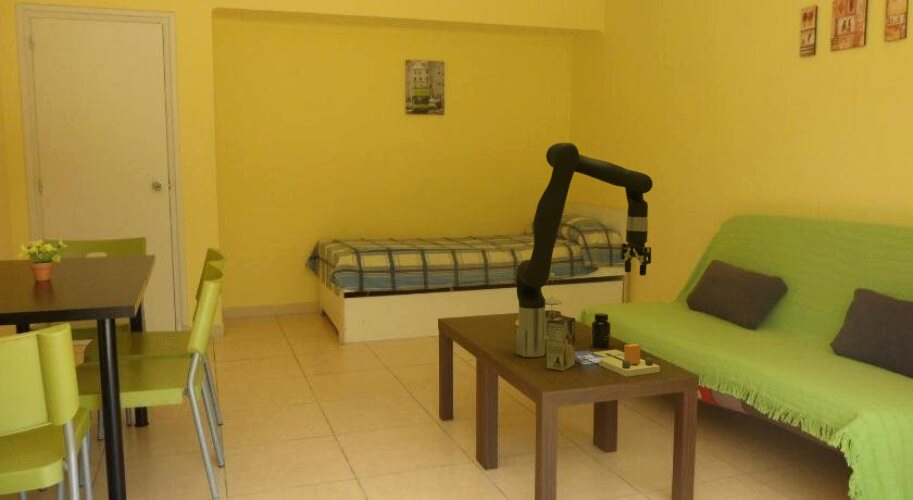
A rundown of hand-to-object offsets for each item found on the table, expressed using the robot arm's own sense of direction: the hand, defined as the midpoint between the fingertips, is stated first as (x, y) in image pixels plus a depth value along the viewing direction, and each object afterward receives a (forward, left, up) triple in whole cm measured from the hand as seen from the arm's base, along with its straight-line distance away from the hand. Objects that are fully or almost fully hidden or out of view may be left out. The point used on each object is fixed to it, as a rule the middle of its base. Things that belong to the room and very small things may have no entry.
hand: (635, 273), depth 281 cm
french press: (-20, +25, -27) cm, 42 cm away
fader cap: (-20, -26, -25) cm, 41 cm away
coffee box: (-39, -13, -27) cm, 49 cm away
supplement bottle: (-11, +5, -27) cm, 30 cm away
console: (-20, -20, -27) cm, 39 cm away
